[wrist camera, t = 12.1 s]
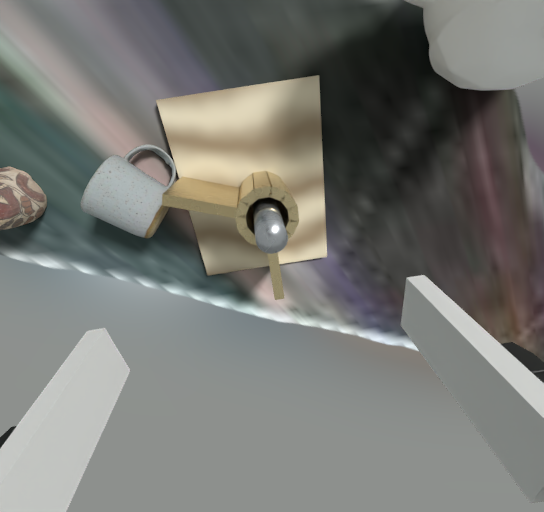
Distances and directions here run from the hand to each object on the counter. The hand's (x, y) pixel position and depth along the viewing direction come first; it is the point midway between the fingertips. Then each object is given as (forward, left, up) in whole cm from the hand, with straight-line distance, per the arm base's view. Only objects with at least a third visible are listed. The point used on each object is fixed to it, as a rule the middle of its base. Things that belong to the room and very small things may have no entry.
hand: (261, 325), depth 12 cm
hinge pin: (+2, +1, -27) cm, 27 cm away
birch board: (+1, 0, -28) cm, 28 cm away
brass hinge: (+5, -2, -27) cm, 28 cm away
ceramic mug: (-2, -14, -29) cm, 32 cm away
